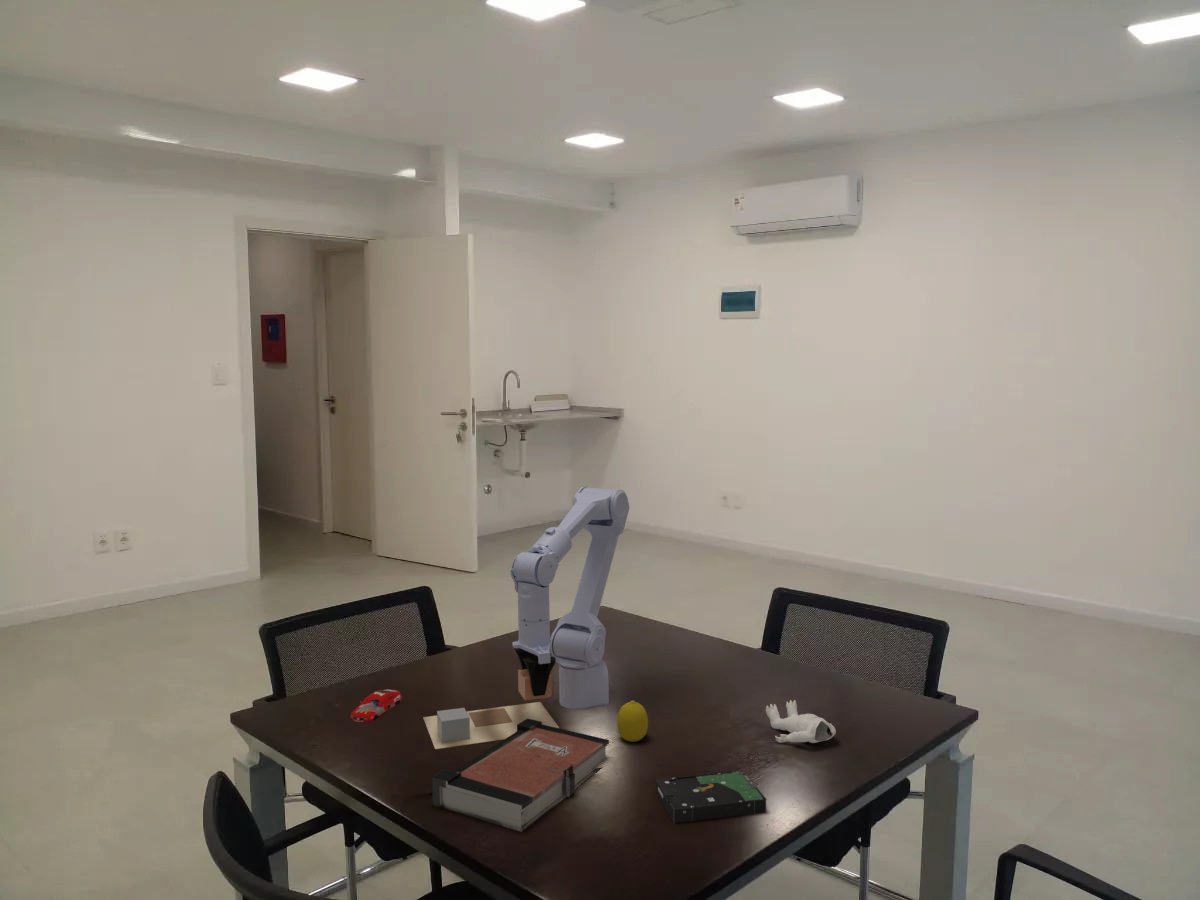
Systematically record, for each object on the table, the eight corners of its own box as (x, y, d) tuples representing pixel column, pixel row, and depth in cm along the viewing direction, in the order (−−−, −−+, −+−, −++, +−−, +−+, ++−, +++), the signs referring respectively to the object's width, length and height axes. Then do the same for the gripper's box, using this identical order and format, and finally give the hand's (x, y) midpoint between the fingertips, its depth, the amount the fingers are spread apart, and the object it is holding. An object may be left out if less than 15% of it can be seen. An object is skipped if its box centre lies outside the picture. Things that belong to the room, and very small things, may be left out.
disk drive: (674, 828, 136) (767, 815, 139) (674, 810, 136) (767, 797, 139) (654, 795, 146) (742, 784, 149) (654, 778, 146) (742, 768, 149)
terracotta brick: (544, 687, 172) (544, 666, 171) (551, 696, 167) (551, 675, 167) (518, 690, 170) (518, 670, 170) (525, 700, 166) (524, 679, 165)
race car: (369, 730, 171) (368, 709, 171) (345, 726, 173) (344, 706, 173) (407, 704, 184) (406, 685, 183) (383, 701, 186) (383, 682, 185)
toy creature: (805, 696, 175) (846, 702, 164) (809, 728, 174) (851, 737, 164) (753, 706, 170) (792, 714, 159) (757, 740, 169) (796, 750, 158)
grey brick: (464, 728, 169) (464, 707, 168) (470, 739, 164) (469, 717, 164) (437, 732, 167) (437, 711, 167) (442, 743, 162) (441, 721, 162)
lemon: (651, 739, 166) (651, 697, 165) (642, 752, 160) (642, 708, 160) (622, 735, 167) (622, 693, 167) (613, 748, 162) (612, 704, 161)
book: (526, 836, 134) (525, 803, 133) (432, 807, 142) (432, 777, 142) (612, 766, 156) (612, 738, 156) (527, 745, 165) (527, 718, 164)
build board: (540, 706, 182) (540, 701, 181) (561, 736, 167) (561, 730, 167) (423, 722, 174) (423, 716, 174) (435, 754, 160) (435, 748, 160)
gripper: (503, 609, 173) (504, 679, 174) (522, 631, 159) (523, 706, 161) (539, 605, 175) (540, 674, 176) (561, 626, 161) (562, 701, 163)
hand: (535, 689), depth 169 cm, fingers closed on terracotta brick, 5 cm apart
